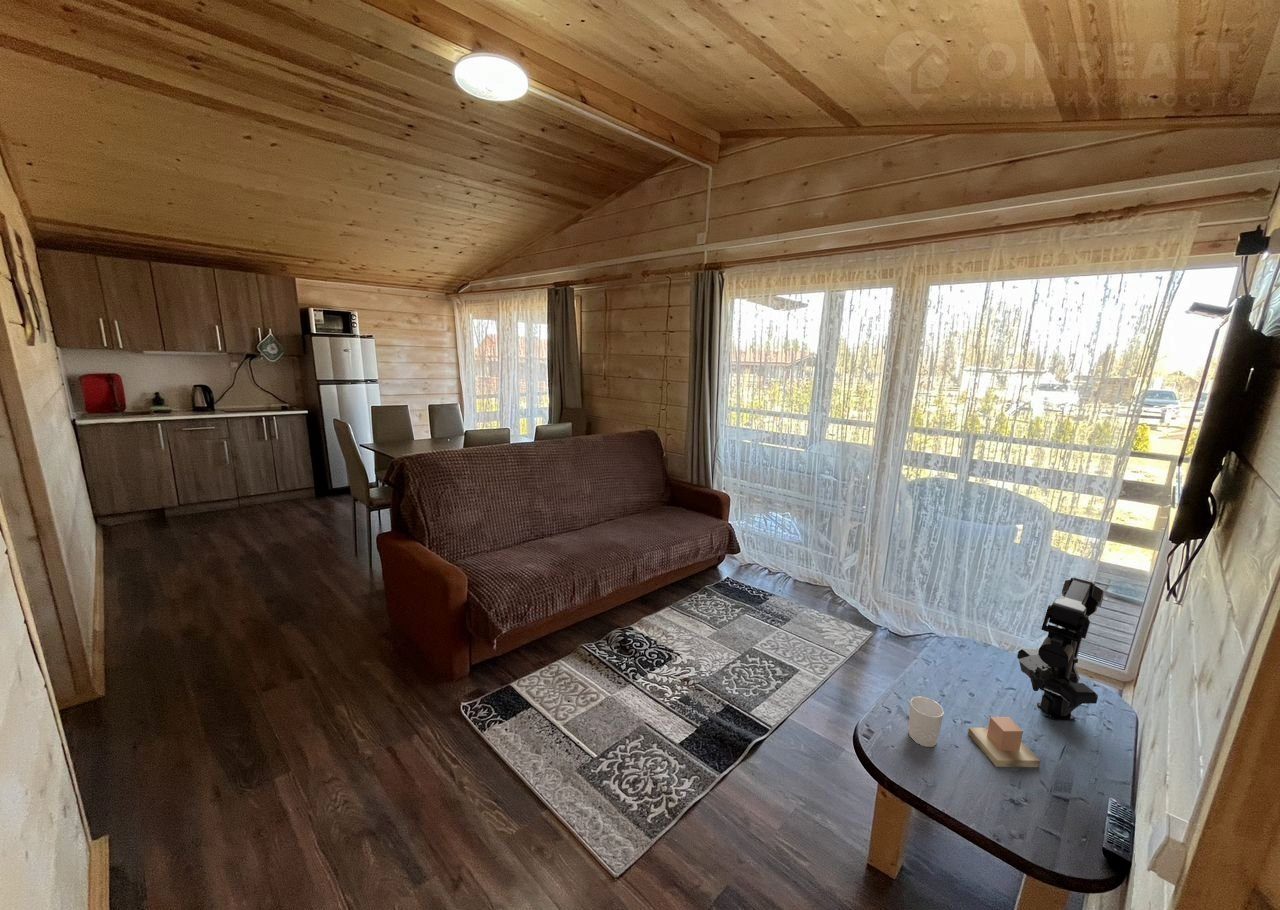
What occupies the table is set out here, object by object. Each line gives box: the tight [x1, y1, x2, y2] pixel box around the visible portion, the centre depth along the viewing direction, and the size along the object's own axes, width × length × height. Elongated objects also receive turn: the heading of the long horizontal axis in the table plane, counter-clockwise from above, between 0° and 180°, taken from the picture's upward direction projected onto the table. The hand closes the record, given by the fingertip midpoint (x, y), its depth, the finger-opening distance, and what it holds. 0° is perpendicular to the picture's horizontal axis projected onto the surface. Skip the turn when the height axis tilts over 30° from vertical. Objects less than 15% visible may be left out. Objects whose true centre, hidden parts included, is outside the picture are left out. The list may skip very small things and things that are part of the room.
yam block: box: [987, 716, 1024, 751], centre depth 128 cm, size 5×5×6 cm
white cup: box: [908, 696, 945, 748], centre depth 132 cm, size 8×8×10 cm
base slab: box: [967, 727, 1041, 768], centre depth 129 cm, size 11×11×2 cm
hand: (1049, 702), depth 128 cm, fingers open, 9 cm apart
